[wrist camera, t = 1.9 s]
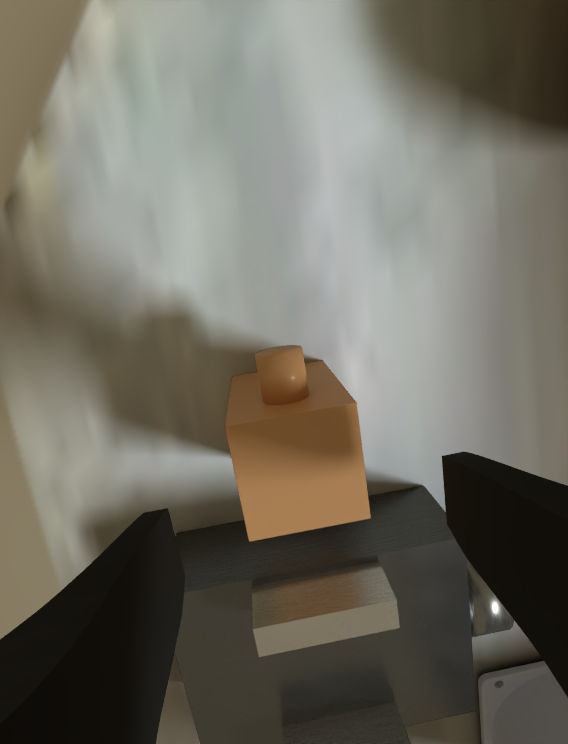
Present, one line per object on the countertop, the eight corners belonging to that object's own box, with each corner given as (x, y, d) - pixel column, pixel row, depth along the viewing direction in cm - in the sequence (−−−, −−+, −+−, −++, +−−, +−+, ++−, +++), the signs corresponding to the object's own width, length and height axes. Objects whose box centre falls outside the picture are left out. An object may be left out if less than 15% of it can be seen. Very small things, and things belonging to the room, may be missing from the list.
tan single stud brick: (317, 324, 18) (349, 351, 12) (334, 443, 20) (370, 518, 14) (225, 340, 18) (214, 375, 12) (248, 459, 19) (249, 541, 14)
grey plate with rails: (463, 477, 20) (549, 560, 15) (472, 627, 23) (550, 750, 17) (176, 533, 20) (147, 643, 14) (214, 681, 22) (203, 829, 16)
